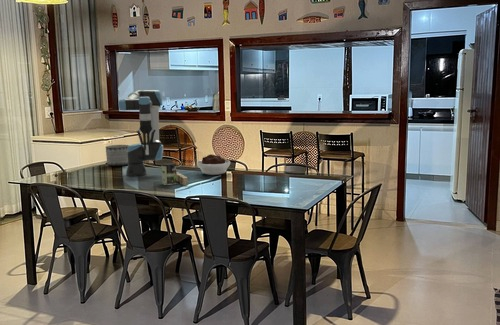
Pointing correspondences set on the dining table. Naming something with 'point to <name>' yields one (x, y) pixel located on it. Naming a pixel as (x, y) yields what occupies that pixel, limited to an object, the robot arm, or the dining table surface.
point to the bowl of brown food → (213, 165)
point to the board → (182, 179)
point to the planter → (117, 155)
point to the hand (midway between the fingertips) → (147, 154)
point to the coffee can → (168, 173)
